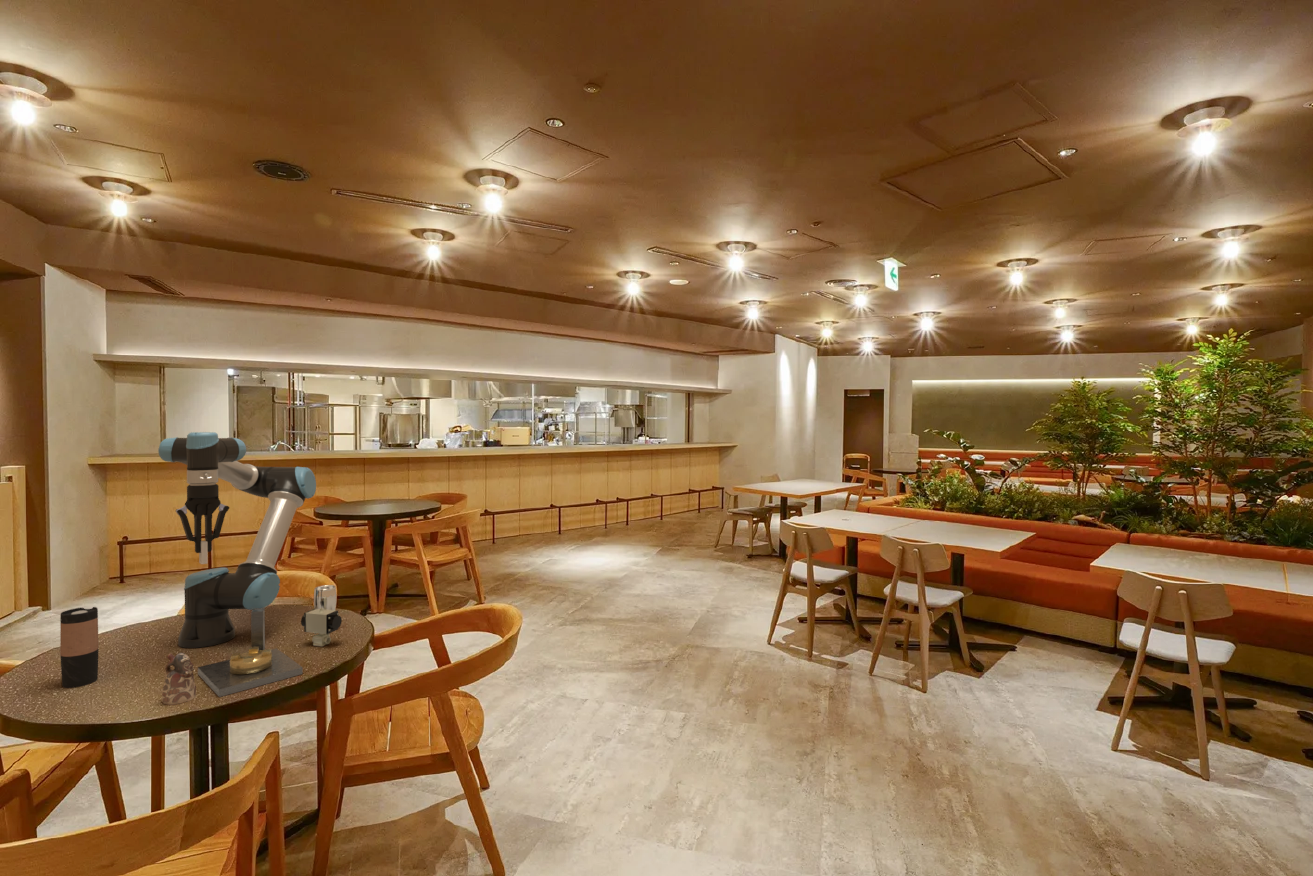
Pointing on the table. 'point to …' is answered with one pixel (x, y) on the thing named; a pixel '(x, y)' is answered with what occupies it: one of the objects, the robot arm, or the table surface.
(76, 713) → the table surface
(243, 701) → the table surface
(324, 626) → the pneumatic valve
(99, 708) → the table surface
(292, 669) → the base plate
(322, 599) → the beer glass
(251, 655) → the metal fixture
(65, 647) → the travel mug
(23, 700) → the table surface
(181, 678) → the figurine
